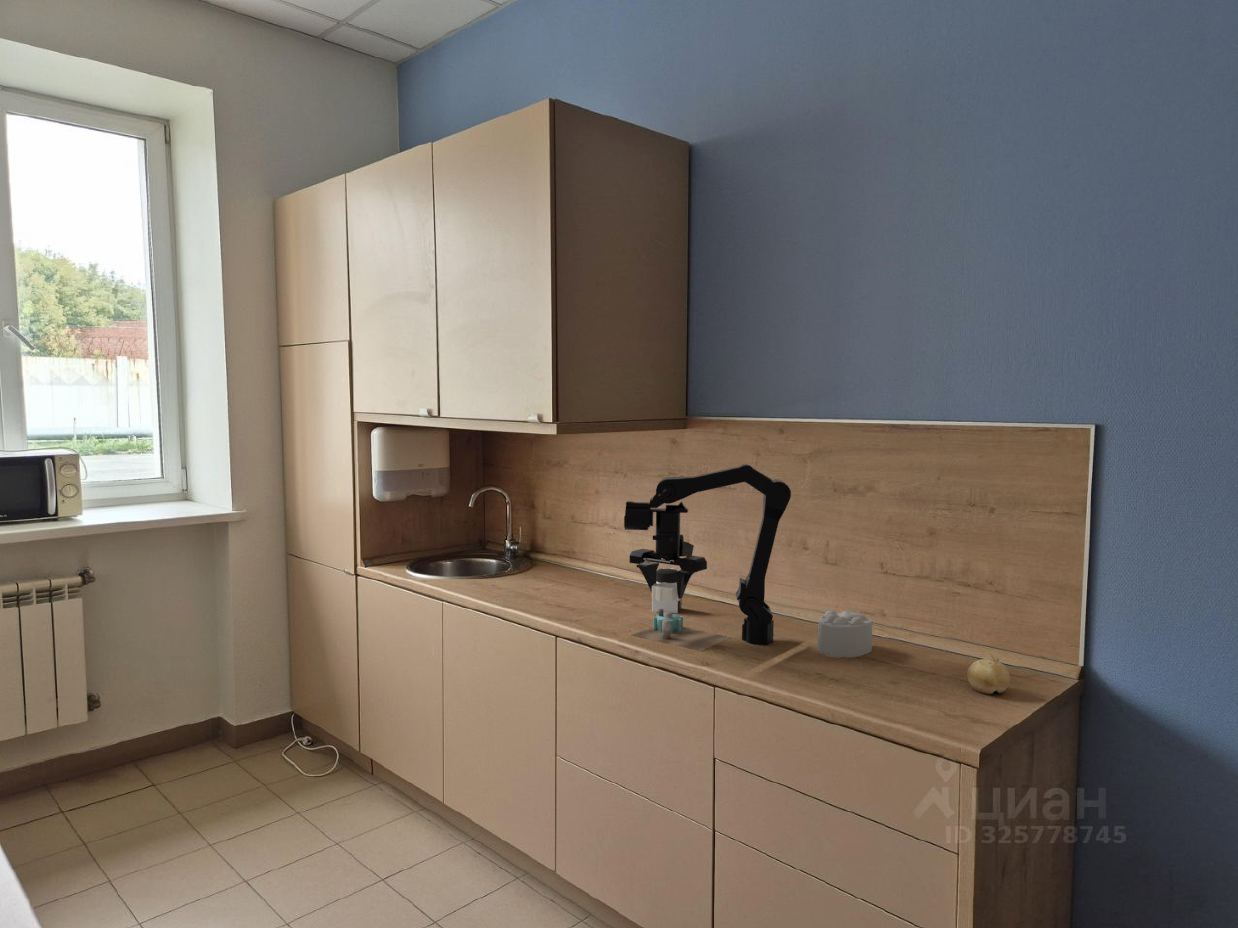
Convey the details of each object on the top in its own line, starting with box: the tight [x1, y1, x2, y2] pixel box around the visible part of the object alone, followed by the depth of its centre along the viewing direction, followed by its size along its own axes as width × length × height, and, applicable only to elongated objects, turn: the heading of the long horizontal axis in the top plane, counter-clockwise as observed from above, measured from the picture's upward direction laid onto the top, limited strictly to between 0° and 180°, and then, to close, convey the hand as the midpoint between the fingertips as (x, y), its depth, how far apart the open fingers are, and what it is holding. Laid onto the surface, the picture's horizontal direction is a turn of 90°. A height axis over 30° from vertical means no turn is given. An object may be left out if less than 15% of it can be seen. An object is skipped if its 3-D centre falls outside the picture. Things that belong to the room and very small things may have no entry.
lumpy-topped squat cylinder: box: [817, 610, 873, 658], centre depth 198 cm, size 10×13×9 cm
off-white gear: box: [651, 583, 681, 602], centre depth 202 cm, size 7×7×3 cm
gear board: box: [630, 612, 732, 652], centre depth 204 cm, size 20×14×5 cm
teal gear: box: [652, 609, 684, 633], centre depth 211 cm, size 7×7×5 cm
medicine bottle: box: [651, 567, 683, 614], centre depth 231 cm, size 7×7×12 cm
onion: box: [966, 653, 1011, 695], centre depth 171 cm, size 8×8×7 cm
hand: (667, 596), depth 202 cm, fingers closed on off-white gear, 7 cm apart
